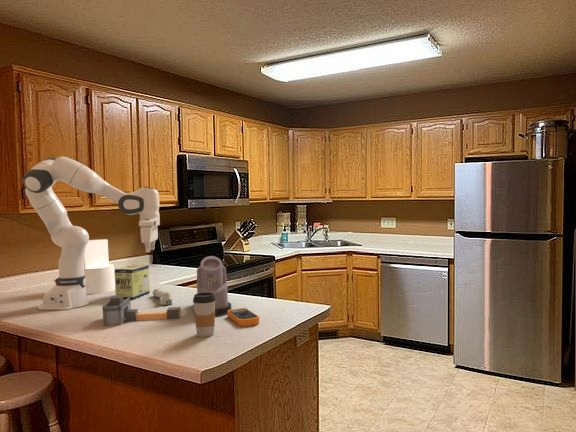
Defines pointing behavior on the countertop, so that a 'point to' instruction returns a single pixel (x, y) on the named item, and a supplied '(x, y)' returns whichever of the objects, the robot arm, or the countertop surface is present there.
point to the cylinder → (98, 268)
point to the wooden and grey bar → (154, 314)
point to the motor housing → (115, 310)
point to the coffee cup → (204, 313)
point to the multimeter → (243, 317)
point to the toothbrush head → (163, 296)
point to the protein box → (132, 281)
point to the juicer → (214, 283)
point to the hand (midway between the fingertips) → (150, 251)
